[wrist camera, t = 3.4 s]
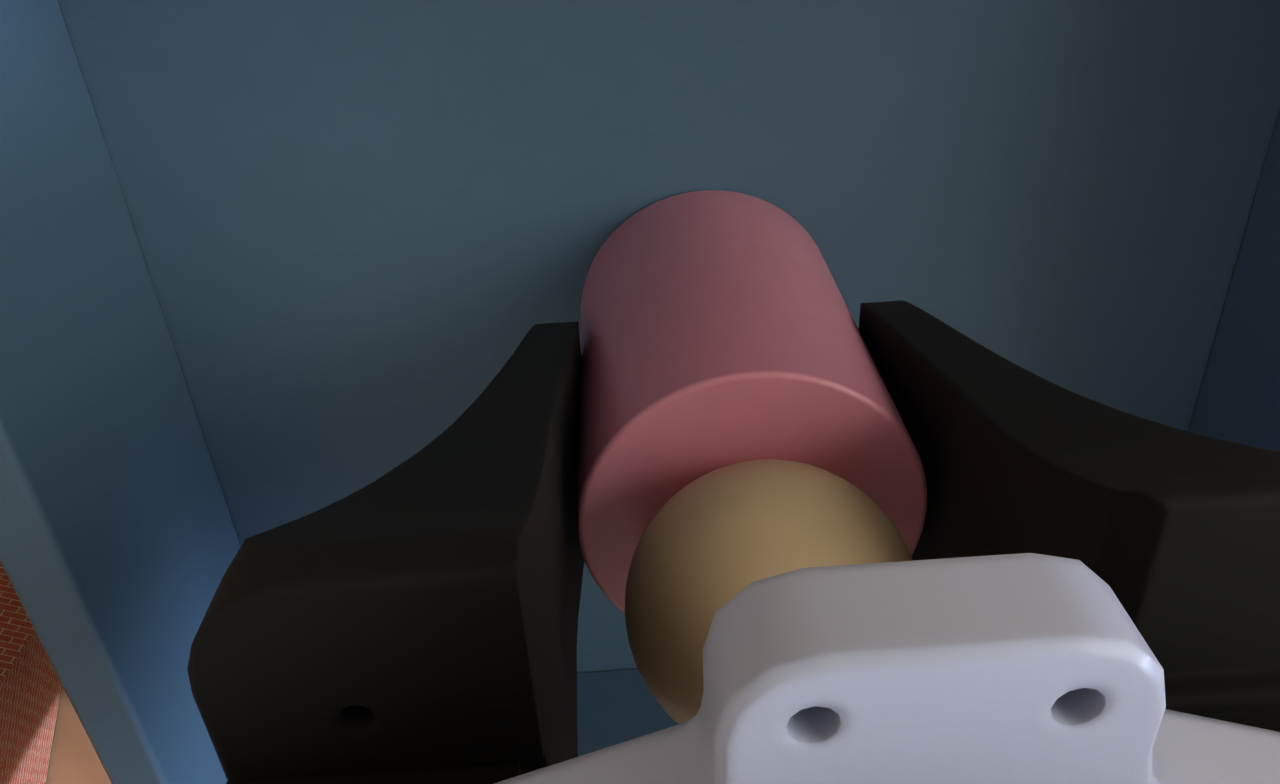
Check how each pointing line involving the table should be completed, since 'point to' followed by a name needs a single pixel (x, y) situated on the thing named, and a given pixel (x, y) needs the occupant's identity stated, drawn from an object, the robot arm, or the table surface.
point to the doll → (726, 426)
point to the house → (24, 694)
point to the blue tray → (553, 251)
